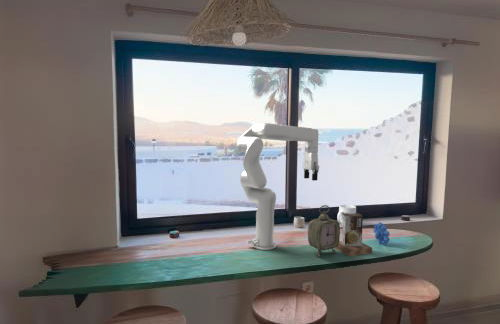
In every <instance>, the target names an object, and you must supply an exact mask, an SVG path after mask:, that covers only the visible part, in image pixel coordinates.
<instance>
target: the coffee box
mask: <svg viewBox="0 0 500 324" xmlns="http://www.w3.org/2000/svg"><path fill="white" fill-rule="evenodd" d="M363 221H364V218H363V215H362V214H361V213H359V212H356V213H343V226H342V231H341V232H342V235H341V237H342V238H341V241H342V243H343V244H344V246H362V243H363Z"/></svg>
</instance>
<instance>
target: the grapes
mask: <svg viewBox="0 0 500 324" xmlns="http://www.w3.org/2000/svg"><path fill="white" fill-rule="evenodd" d="M373 233H374V238H375V240H377V242H378V244H379V245H383V246H387V244H388V243H390V237H389V236H390V232H389V230H388V227H387V226H386V225H385V224H383V223H382V222H381V221H380V222H378V223H375V224H374V228H373Z"/></svg>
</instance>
